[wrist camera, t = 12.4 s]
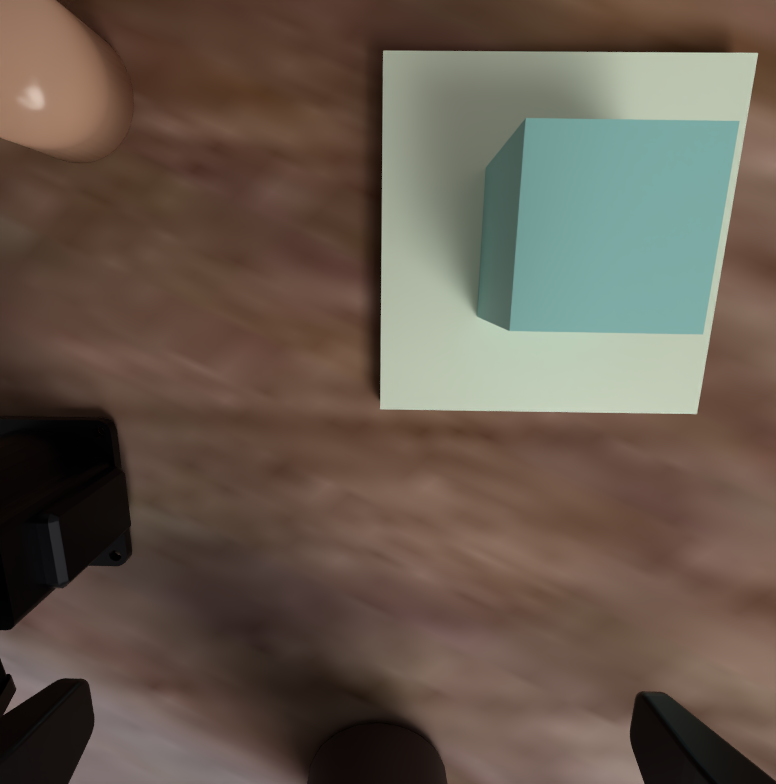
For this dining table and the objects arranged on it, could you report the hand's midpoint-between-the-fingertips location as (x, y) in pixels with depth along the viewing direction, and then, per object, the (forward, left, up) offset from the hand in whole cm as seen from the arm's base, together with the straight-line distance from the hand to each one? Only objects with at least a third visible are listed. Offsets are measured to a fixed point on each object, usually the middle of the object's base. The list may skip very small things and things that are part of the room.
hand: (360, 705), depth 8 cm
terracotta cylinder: (-11, +13, -12) cm, 21 cm away
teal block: (+6, +8, -11) cm, 15 cm away
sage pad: (+6, +8, -12) cm, 16 cm away
